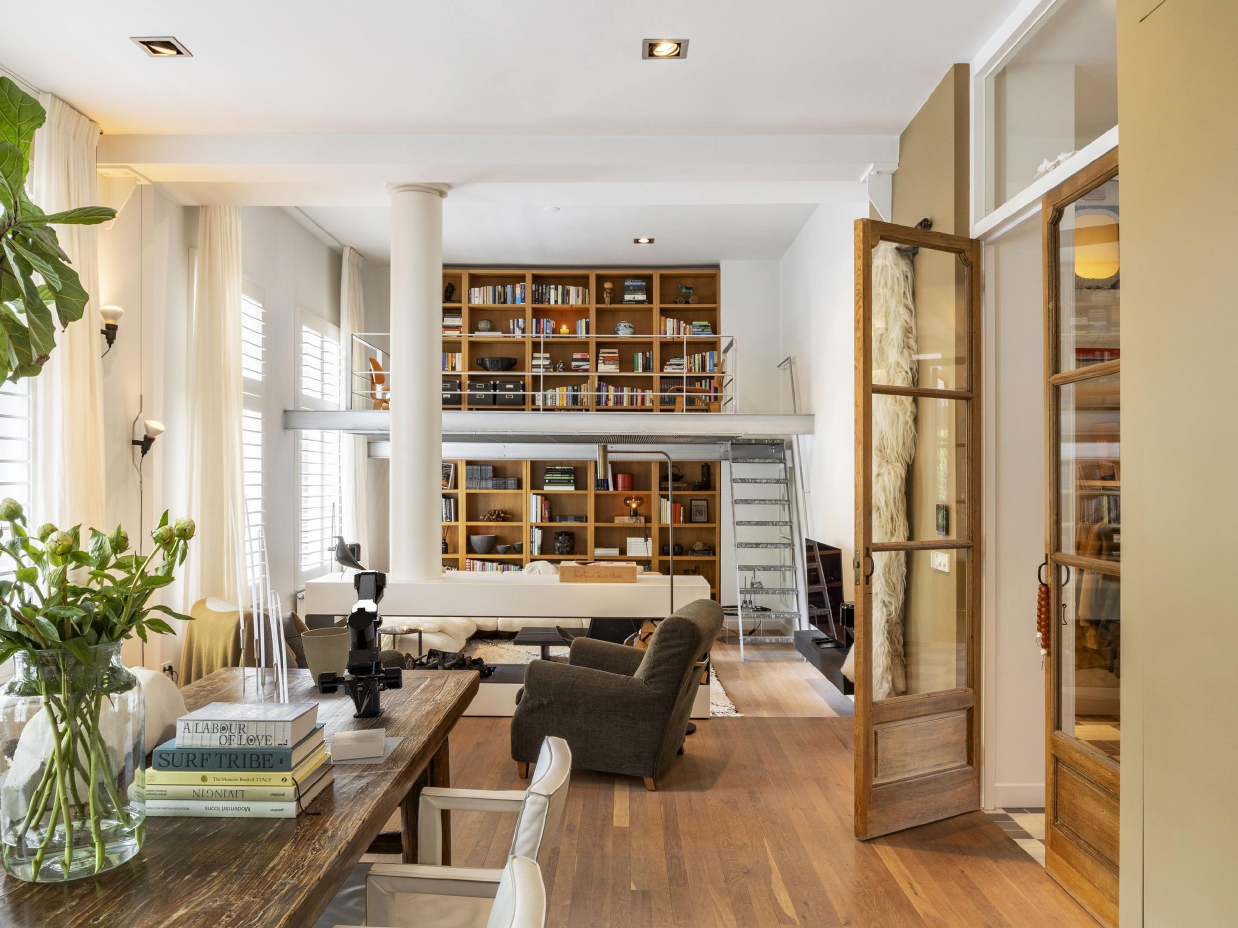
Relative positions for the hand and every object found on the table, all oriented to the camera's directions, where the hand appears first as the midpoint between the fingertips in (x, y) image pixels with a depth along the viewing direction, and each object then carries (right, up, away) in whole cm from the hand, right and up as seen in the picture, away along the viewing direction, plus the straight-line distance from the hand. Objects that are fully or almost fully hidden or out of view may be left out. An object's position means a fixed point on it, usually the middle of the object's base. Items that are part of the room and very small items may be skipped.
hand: (359, 712), depth 187 cm
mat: (0, -9, 0) cm, 9 cm away
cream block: (-1, -7, +3) cm, 7 cm away
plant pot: (-29, -11, +63) cm, 70 cm away
